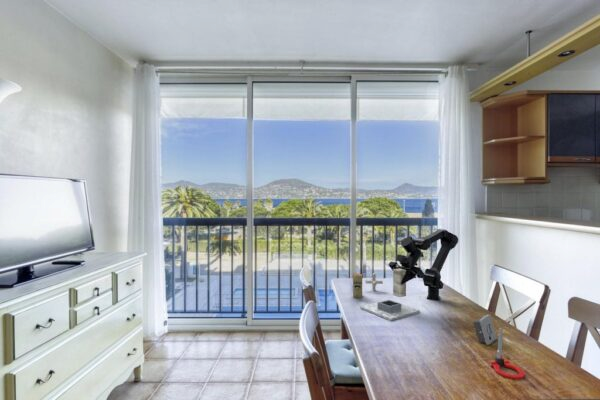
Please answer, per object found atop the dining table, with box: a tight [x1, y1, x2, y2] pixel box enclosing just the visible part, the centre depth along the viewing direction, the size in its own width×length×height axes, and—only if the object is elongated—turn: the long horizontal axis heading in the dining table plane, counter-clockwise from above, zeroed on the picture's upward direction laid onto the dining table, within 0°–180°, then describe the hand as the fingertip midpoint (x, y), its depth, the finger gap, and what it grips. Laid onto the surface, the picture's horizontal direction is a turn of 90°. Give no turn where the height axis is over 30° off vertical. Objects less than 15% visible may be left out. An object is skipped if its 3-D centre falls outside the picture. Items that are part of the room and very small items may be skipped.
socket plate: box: [359, 299, 421, 322], centre depth 166 cm, size 20×20×4 cm
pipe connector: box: [364, 272, 384, 292], centre depth 200 cm, size 10×10×10 cm
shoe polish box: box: [352, 273, 363, 299], centre depth 189 cm, size 5×5×12 cm
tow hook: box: [488, 327, 526, 380], centre depth 109 cm, size 8×13×9 cm
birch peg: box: [392, 269, 407, 298], centre depth 170 cm, size 4×4×13 cm
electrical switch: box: [472, 314, 498, 346], centre depth 133 cm, size 9×5×9 cm, turn 132°
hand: (397, 282), depth 169 cm, fingers closed on birch peg, 4 cm apart
